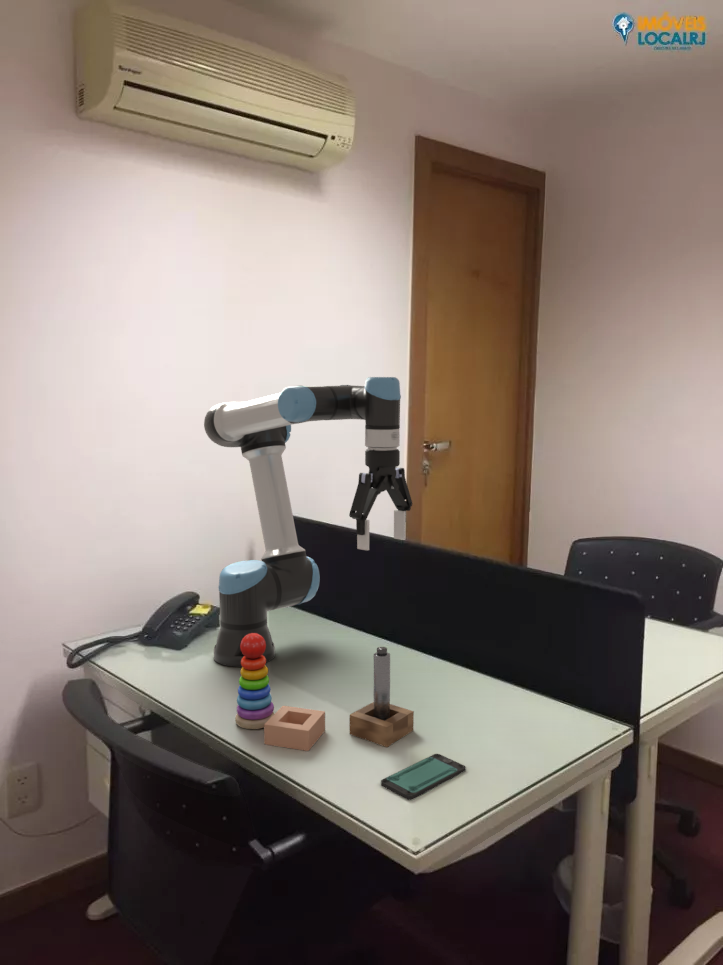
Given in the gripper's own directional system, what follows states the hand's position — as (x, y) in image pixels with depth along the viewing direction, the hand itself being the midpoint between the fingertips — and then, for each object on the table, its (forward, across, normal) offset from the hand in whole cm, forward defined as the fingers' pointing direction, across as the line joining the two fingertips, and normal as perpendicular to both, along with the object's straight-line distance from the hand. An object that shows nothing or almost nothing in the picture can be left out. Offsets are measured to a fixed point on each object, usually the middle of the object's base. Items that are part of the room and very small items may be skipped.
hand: (382, 544), depth 174 cm
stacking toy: (+33, -31, +9) cm, 46 cm away
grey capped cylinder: (+33, -19, -14) cm, 40 cm away
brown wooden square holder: (+33, -19, -14) cm, 40 cm away
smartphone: (+33, -28, -30) cm, 53 cm away
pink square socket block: (+33, -31, -2) cm, 45 cm away
